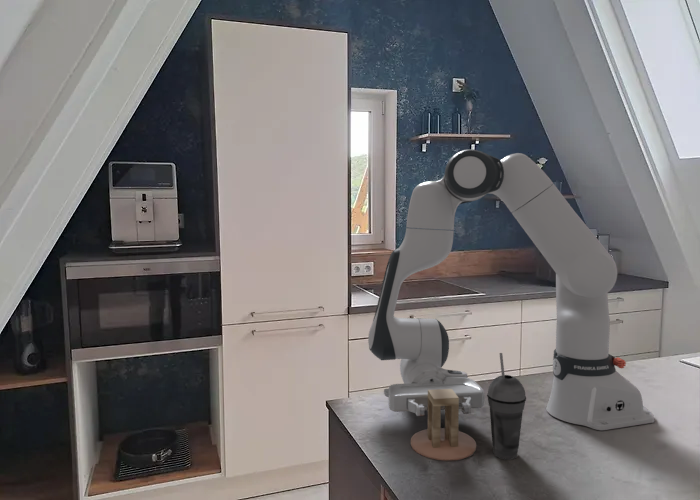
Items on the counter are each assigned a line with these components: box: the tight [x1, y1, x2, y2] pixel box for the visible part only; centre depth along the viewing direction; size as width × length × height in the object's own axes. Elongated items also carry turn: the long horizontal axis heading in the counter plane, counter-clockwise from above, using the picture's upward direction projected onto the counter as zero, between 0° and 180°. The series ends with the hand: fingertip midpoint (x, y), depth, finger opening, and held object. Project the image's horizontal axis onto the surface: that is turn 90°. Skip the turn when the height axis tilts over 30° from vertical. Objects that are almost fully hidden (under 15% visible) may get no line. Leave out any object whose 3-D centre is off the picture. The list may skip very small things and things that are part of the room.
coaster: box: [410, 427, 477, 462], centre depth 110 cm, size 13×13×1 cm
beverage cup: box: [486, 352, 527, 460], centre depth 105 cm, size 7×7×20 cm
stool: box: [427, 389, 460, 448], centre depth 110 cm, size 5×5×10 cm
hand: (444, 411), depth 108 cm, fingers open, 8 cm apart
